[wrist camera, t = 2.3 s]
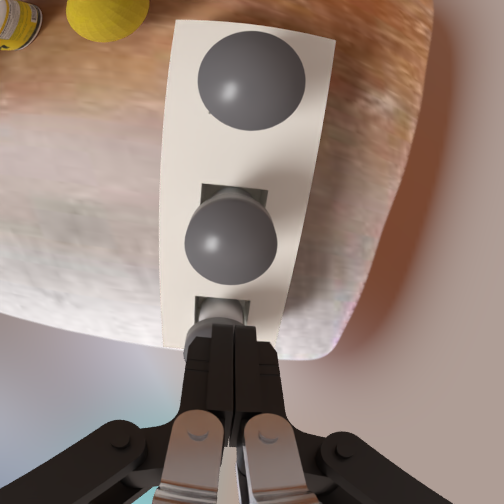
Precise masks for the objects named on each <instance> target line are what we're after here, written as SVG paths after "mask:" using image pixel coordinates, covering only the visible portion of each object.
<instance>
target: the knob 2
mask: <svg viewBox="0 0 504 504" xmlns="http://www.w3.org/2000/svg"><path fill="white" fill-rule="evenodd" d="M305 84H306V78H305V71H304V67H303V64H302V62H301V60H300V58H299V56H298V55H297V53H296V52H295V51H294V49H293V48H292V47H291V46H290V45H289V44H287V43H286V42H285V41H283V40H282V39H280V38H278V37H276V36H274V35H272V34H269V33H265V32H260V31H243V32H237V33H234V34H231V35H229V36H227V37H224V38H223V39H221V40H220V41H218V42H217V43H216V44H214V45H213V46H212V47H211V48H210V49H209V51H208V52H207V53H206V55H205V56H204V58H203V60H202V62H201V65H200V68H199V72H198V90H199V94H200V97H201V99H202V102H203V103H204V105H205V107H206V108H207V110H208V111H209V112H210V113H211V114H212V115H213V116H214V117H215V118H216V119H217V120H219V121H220V122H222V123H224V124H225V125H227V126H230V127H232V128H236V129H239V130H245V131H258V130H264V129H268V128H271V127H274V126H276V125H278V124H280V123H282V122H283V121H285V120H286V119H287V118H288V117H290V116H291V115H292V114H293V113H294V111H295V110H296V109H297V107H298V106H299V104H300V102H301V100H302V98H303V95H304V91H305Z"/></svg>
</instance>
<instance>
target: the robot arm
mask: <svg viewBox="0 0 504 504" xmlns="http://www.w3.org/2000/svg"><path fill="white" fill-rule="evenodd" d="M278 366H279V364H278V356H277V352H276V350H275V349H274V348H273V346H272V345H271V343H270V342H266V341H257V335H256V327H255V326H245V325H234V332H233V325H230V324H218V323H212V335H211V338H209V337H198V336H196V337H195V338H194V340H193V341H192V342H191V344H190V345H189V346H188V353H187V361H186V366H185V373H184V380H183V388H182V396H181V403H180V408H179V411H178V414H177V415H176V416H175V418H174V419H172V420H171V421H170V422H168V423H166V424H164V425H161V426H157V427H150V428H142V429H140V428H139V427H138V426H136V425H135V424H133V423H132V422H129V421H125V420H114V421H110V422H108V423H106V424H104V425H103V426H101V427H100V428H98V429H97V430H95V431H94V432H92V433H91V434H89V435H88V436H86V437H84V438H83V439H81V440H80V441H78V442H77V443H75V444H74V445H72V446H71V447H69V448H67V449H66V450H64V451H63V452H61V453H59V454H58V455H56V456H55V457H53V458H52V459H50V460H48V461H47V462H45V463H43V464H42V465H40V466H38V467H37V468H35V469H33V470H32V471H30V472H28V473H27V474H25V475H23V476H22V477H20V478H18V479H16V480H15V481H13V482H11V483H9V484H8V485H6V486H4V487H2V488H1V489H0V504H131V503H133V502H134V501H135V500H137V499H138V498H139V497H141V496H142V495H143V494H144V493H146V492H147V491H148V490H150V489H151V488H152V487H154V486H159V487H158V488H157V489H156V491H155V494H154V497H153V501H152V504H217V492H218V482H219V471H220V467H221V464H222V457H223V450H224V447H227V445H228V439H229V447H237V461H236V465H235V470H236V479H237V488H238V496H239V504H453V503H451V502H450V501H448V500H447V499H445V498H443V497H442V496H440V495H439V494H437V493H436V492H434V491H433V490H431V489H430V488H428V487H427V486H425V485H424V484H422V483H421V482H419V481H418V480H416V479H415V478H413V477H412V476H410V475H409V474H408V473H406V472H405V471H403V470H402V469H401V468H399V467H398V466H396V465H395V464H394V463H392V462H391V461H389V460H388V459H387V458H385V457H384V456H383V455H381V454H380V453H379V452H377V451H376V450H375V449H373V448H372V447H371V446H369V445H368V444H367V443H365V442H364V441H363V440H361V439H360V438H359V437H357V436H356V435H354V434H352V433H349V432H335V433H332V434H330V435H329V436H327V437H326V438H325V437H320V436H316V435H311V434H307V433H304V432H302V431H300V430H298V429H296V428H295V427H294V426H293V425H292V424H291V423H290V422H289V420H288V419H287V416H286V413H285V407H284V399H283V392H282V385H281V378H280V371H279V367H278Z"/></svg>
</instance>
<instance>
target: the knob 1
mask: <svg viewBox="0 0 504 504" xmlns="http://www.w3.org/2000/svg"><path fill="white" fill-rule="evenodd" d="M212 323H218V324H230V325H233V332H234V325H244V324H243V311H242V305H241V303H240V302H239V301H238V300H237V299H226V298H214V297H207V298H205V299H204V300H203V302H202V304H201V307H200V315H199V322H197V323H195V324H194V325H193V326H192V327H191V328H190V329H189V330H188V332H187V335H186V340H185V346H184V359H185V362H186V361H187V353H188V346H189V345H190V344H191V342H192V341H193V340H194V338H195V337H196V336H198V337H209V338H211V335H212Z"/></svg>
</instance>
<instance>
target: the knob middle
mask: <svg viewBox="0 0 504 504" xmlns="http://www.w3.org/2000/svg"><path fill="white" fill-rule="evenodd" d="M184 245H185V253H186V256H187V258H188V261H189V263H190V264H191V266H192V267H193V268H194V269H195V270H196V272H198V273H199V274H200V275H201V276H203V277H204V278H206V279H208V280H209V281H212V282H214V283H218V284H222V285H240V284H245V283H248V282H250V281H253V280H255V279H257V278H258V277H260V276H261V275H262V274H264V273H265V272H266V271H267V270H268V268H269V267H270V266H271V264H272V263H273V261H274V259H275V256H276V252H277V246H278V243H277V235H276V231H275V228H274V224H273V221H272V218H271V216H270V214H269V213H268V211H267V210H266V209H265V208H264V207H263V206H262V205H261V204H260V203H259V202H257V201H256V200H254V198H253V197H252V196H251V195H250V194H249V193H248V192H247V191H245V190H243V189H241V188H237V187H226V188H223V189H220V190H218V191H217V192H215V193H214V194H213V195H212V197H211V198H210V199H208V200H206V201H205V202H203V203H202V204H201V205H200V206H199V207H198V208H197V209H196V210H195V212H194V213H193V215H192V217H191V219H190V222H189V225H188V228H187V231H186V235H185V241H184Z"/></svg>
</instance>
